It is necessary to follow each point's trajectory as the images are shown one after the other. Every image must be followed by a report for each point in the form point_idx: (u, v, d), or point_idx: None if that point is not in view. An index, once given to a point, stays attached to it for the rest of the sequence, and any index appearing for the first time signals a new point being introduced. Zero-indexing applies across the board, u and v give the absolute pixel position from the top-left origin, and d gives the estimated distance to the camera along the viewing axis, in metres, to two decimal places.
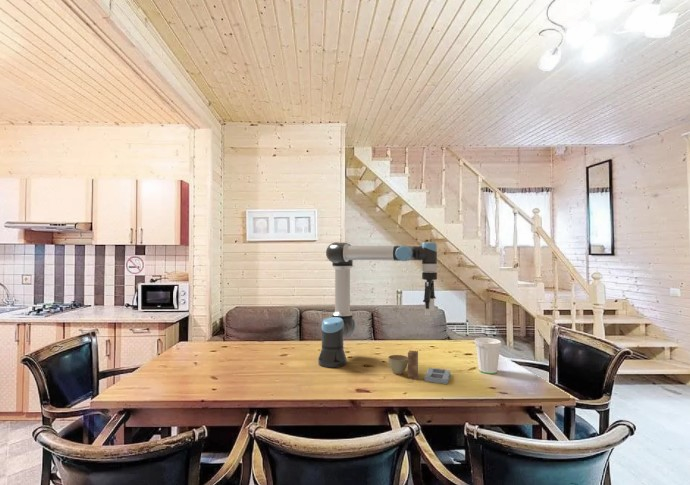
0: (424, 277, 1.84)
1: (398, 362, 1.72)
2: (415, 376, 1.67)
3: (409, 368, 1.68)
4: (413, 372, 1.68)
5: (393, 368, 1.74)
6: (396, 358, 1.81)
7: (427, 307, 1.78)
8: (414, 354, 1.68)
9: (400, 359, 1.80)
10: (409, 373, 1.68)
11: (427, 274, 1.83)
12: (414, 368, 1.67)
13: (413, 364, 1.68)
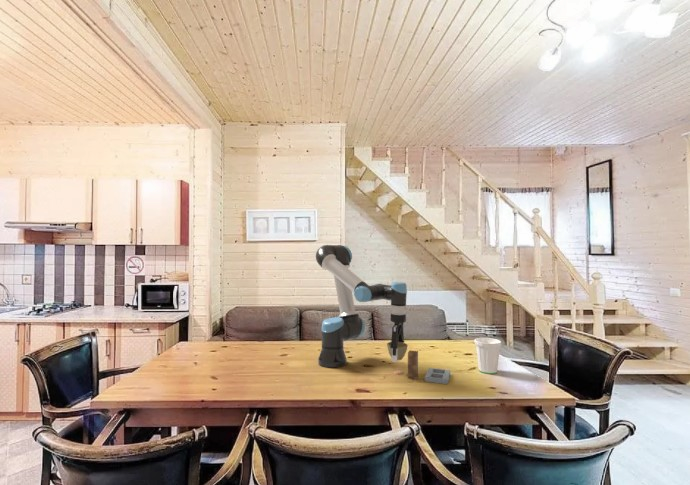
0: (392, 319, 1.75)
1: None
2: (415, 376, 1.67)
3: (409, 368, 1.68)
4: (413, 372, 1.68)
5: None
6: None
7: (394, 354, 1.71)
8: (414, 354, 1.68)
9: (399, 346, 1.81)
10: (409, 373, 1.68)
11: (395, 317, 1.74)
12: (414, 368, 1.67)
13: (413, 364, 1.68)
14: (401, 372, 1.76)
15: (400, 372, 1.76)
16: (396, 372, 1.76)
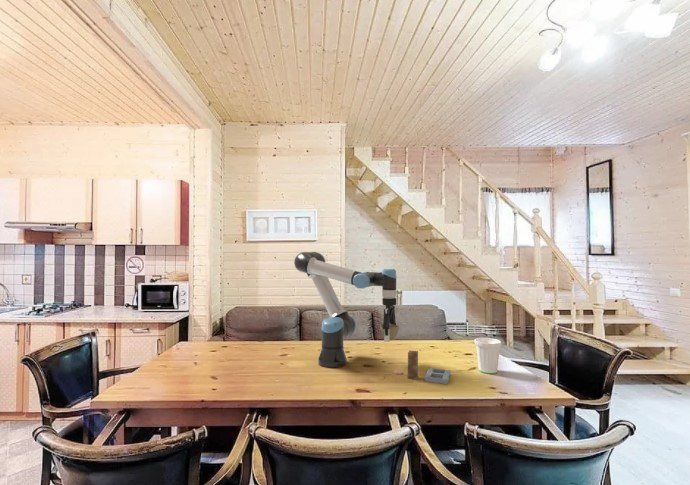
0: (384, 303, 1.90)
1: None
2: (415, 376, 1.67)
3: (409, 368, 1.68)
4: (413, 372, 1.68)
5: None
6: None
7: (386, 334, 1.85)
8: (414, 354, 1.68)
9: (391, 328, 1.96)
10: (409, 373, 1.68)
11: (386, 300, 1.89)
12: (414, 368, 1.67)
13: (413, 364, 1.68)
14: (401, 372, 1.76)
15: (400, 372, 1.76)
16: (396, 372, 1.76)
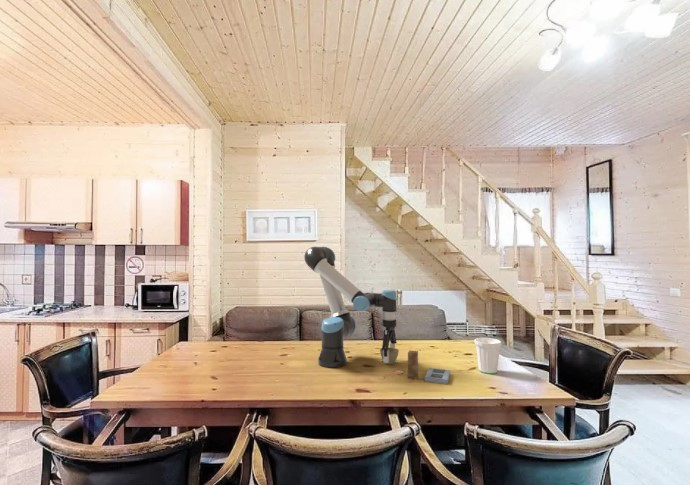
0: (384, 324, 1.90)
1: (389, 353, 1.87)
2: (415, 376, 1.67)
3: (409, 368, 1.68)
4: (413, 372, 1.68)
5: None
6: None
7: (385, 355, 1.84)
8: (414, 354, 1.68)
9: (391, 351, 1.96)
10: (409, 373, 1.68)
11: (386, 322, 1.89)
12: (414, 368, 1.67)
13: (413, 364, 1.68)
14: (401, 372, 1.76)
15: (400, 372, 1.76)
16: (396, 372, 1.76)
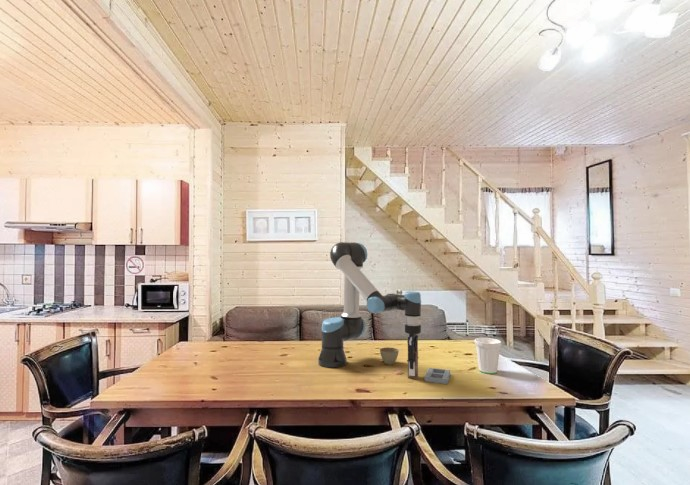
0: (407, 331, 1.68)
1: (389, 353, 1.87)
2: (415, 376, 1.67)
3: None
4: None
5: (384, 359, 1.89)
6: (387, 350, 1.96)
7: (411, 367, 1.66)
8: None
9: (391, 351, 1.96)
10: None
11: (410, 328, 1.67)
12: None
13: None
14: (401, 372, 1.76)
15: (400, 372, 1.76)
16: (396, 372, 1.76)
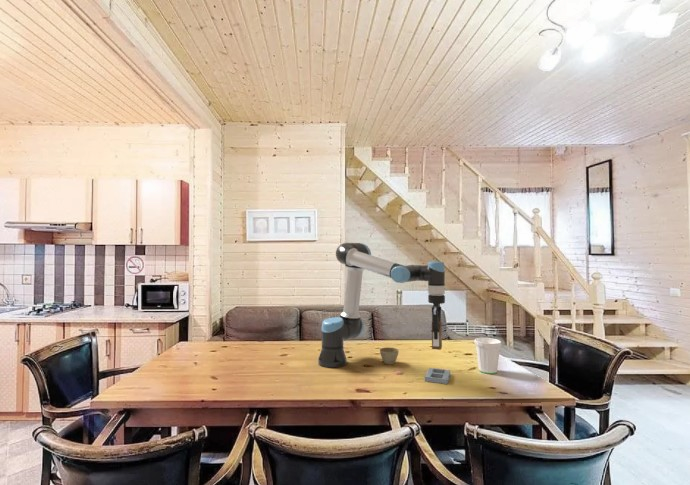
0: (431, 300, 1.65)
1: (389, 353, 1.87)
2: (439, 347, 1.64)
3: None
4: None
5: (384, 359, 1.89)
6: (387, 350, 1.96)
7: (436, 338, 1.63)
8: None
9: (391, 351, 1.96)
10: None
11: (434, 297, 1.64)
12: None
13: None
14: (401, 372, 1.76)
15: (400, 372, 1.76)
16: (396, 372, 1.76)
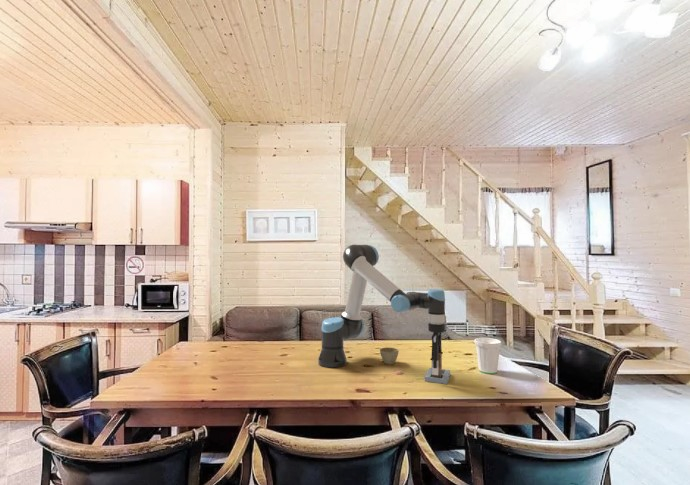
0: (431, 329, 1.65)
1: (389, 353, 1.87)
2: None
3: None
4: None
5: (384, 359, 1.89)
6: (387, 350, 1.96)
7: (435, 366, 1.60)
8: (438, 356, 1.64)
9: (391, 351, 1.96)
10: (433, 375, 1.65)
11: (434, 326, 1.63)
12: (438, 370, 1.64)
13: None
14: (401, 372, 1.76)
15: (400, 372, 1.76)
16: (396, 372, 1.76)
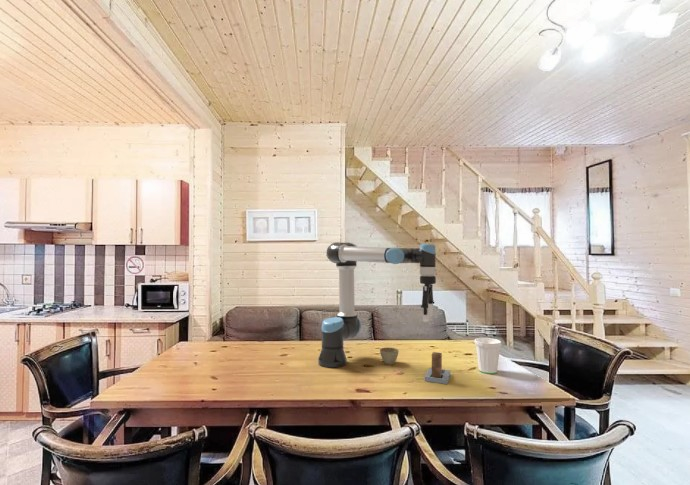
0: (422, 281, 1.73)
1: (389, 353, 1.87)
2: None
3: (433, 370, 1.65)
4: (437, 374, 1.64)
5: (384, 359, 1.89)
6: (387, 350, 1.96)
7: (425, 313, 1.67)
8: (438, 356, 1.64)
9: (391, 351, 1.96)
10: (433, 375, 1.65)
11: (425, 278, 1.72)
12: (438, 370, 1.64)
13: (437, 366, 1.64)
14: (401, 372, 1.76)
15: (400, 372, 1.76)
16: (396, 372, 1.76)
